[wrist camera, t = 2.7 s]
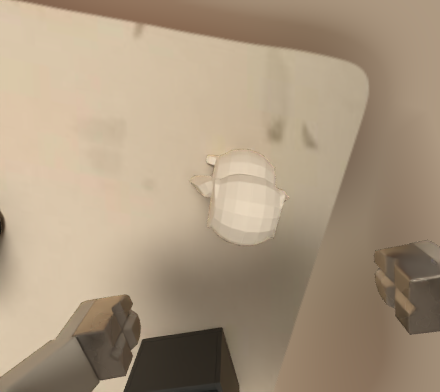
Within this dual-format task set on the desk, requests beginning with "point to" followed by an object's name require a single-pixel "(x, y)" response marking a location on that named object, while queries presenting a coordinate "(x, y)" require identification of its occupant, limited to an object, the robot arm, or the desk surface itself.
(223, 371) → the dark grey hollow box
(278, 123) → the desk surface
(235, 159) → the figurine
